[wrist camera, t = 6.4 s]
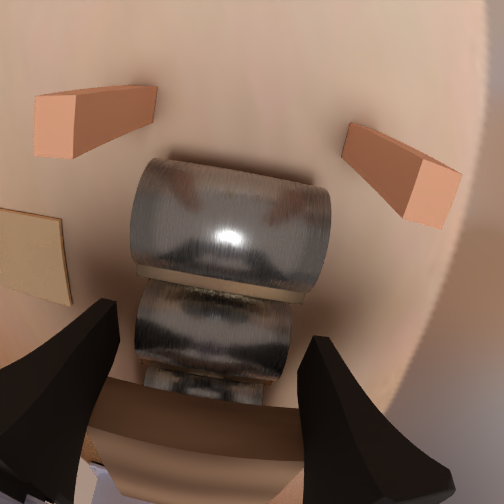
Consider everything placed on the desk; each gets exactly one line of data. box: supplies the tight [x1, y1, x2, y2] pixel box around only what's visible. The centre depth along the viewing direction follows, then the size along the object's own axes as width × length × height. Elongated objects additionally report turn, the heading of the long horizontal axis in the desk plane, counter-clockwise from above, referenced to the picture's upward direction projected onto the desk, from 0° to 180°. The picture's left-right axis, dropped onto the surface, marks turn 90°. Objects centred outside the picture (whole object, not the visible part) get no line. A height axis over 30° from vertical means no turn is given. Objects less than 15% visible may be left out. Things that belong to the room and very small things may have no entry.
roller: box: [135, 278, 291, 381], centre depth 11 cm, size 5×3×3 cm, turn 79°
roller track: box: [0, 158, 331, 405], centre depth 13 cm, size 19×16×3 cm
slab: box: [86, 376, 304, 504], centre depth 12 cm, size 10×8×2 cm
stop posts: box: [33, 85, 462, 229], centre depth 7 cm, size 1×8×5 cm, turn 79°
